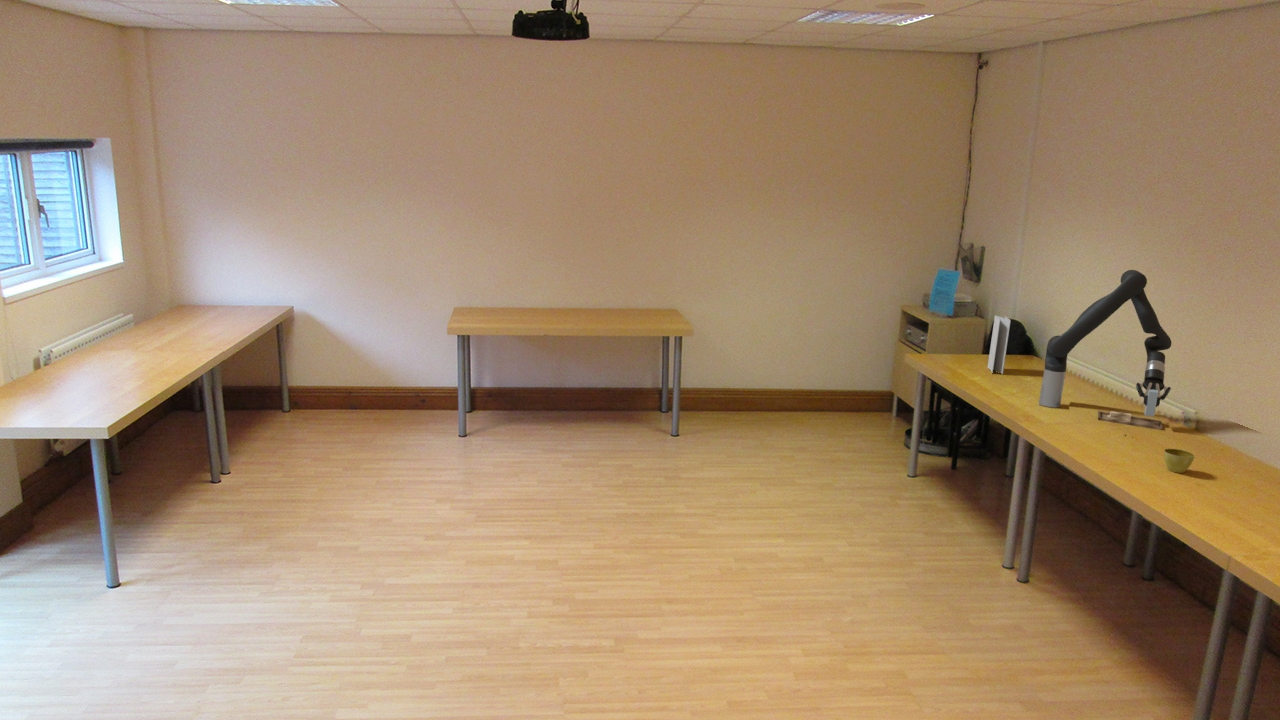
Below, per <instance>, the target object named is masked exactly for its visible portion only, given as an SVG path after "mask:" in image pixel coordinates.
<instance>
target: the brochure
mask: <svg viewBox="0 0 1280 720" xmlns="http://www.w3.org/2000/svg"><path fill="white" fill-rule="evenodd" d="M1010 327H1011V319H1010V318H1009V317H1007V316H1006V315H1005V316H1004V317H1001V316H998V315H995V314H994V319H993V327H992V334H991V341H990V347H989V354H988V363H987V369H988V368H989V369H990V370H991V372H992V373H993V374H994V372H995V371H997V372H999V373H1002V374H1003V375H1004V369H1005V363H1006V362H1005V361H1006V357H1007V356H1006V355H1007V348H1008V342H1009V334H1010ZM993 370H995V371H993ZM991 372H990V373H991ZM997 372H996V373H997ZM992 373H991V374H992ZM999 373H998V374H999Z"/></svg>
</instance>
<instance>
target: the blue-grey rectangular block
mask: <svg viewBox="0 0 1280 720" xmlns="http://www.w3.org/2000/svg"><path fill="white" fill-rule="evenodd" d="M1157 397H1158V391H1157V390H1152V389H1150V390H1149V392H1148V401H1147V406H1145V407H1144V416H1145V417H1151V418H1155V415H1156V408H1157V407H1156V403H1157Z"/></svg>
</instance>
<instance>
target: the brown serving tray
mask: <svg viewBox="0 0 1280 720" xmlns="http://www.w3.org/2000/svg"><path fill="white" fill-rule="evenodd" d="M1107 415H1110V412H1106V411H1101V410H1099V411H1098V412H1097V420H1098V421H1102V422H1108V423H1114V424H1120V425H1128V426H1133V427H1139V428H1147V429H1152V430H1157V431H1158V430H1159V431H1163V429H1164V426H1163V423H1162V420H1160V419H1159V420H1158V419H1152V418H1146V417H1141V416H1140V417H1139V416H1133V415H1131V421H1130V422H1125V421H1118V420H1112V419H1107Z"/></svg>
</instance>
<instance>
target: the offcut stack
mask: <svg viewBox="0 0 1280 720" xmlns="http://www.w3.org/2000/svg"><path fill="white" fill-rule="evenodd" d="M1109 413H1110V415H1107V419H1112V420H1118V421H1125V422H1130V421H1131V416H1132V413H1127V412H1121V411H1112V410H1110V412H1109Z"/></svg>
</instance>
